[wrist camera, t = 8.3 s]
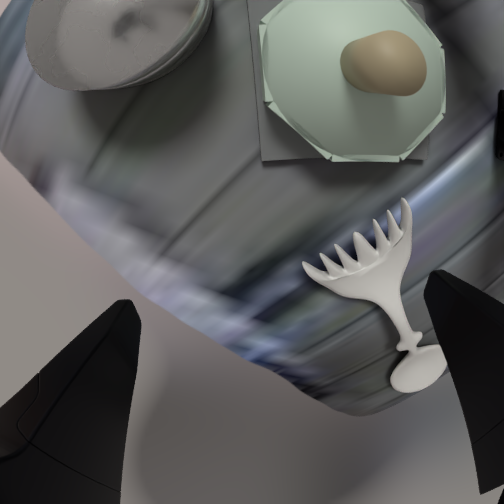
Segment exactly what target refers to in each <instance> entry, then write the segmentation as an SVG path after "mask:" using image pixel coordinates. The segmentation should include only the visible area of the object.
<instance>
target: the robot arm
mask: <svg viewBox="0 0 504 504" xmlns="http://www.w3.org/2000/svg"><path fill="white" fill-rule="evenodd" d="M496 157H497V158H498V159H500V160H504V90H500V92H499V121H498V134H497V145H496ZM424 300H425V303H426V305H427V308H428V311H429V314H430V317H431V320H432V323H433V327H434V330H435V333H436V336H437V339H438V341H439V344H440V347H441V349H442V352H443V354H444V357H445V359H446V362H447V365H448V368H449V370H450V373H451V376H452V378H453V382H454V385H455V388H456V390H457V394H458V397H459V400H460V403H461V407H462V410H463V414H464V417H465V421H466V425H467V429H468V433H469V437H470V441H471V444H472V445H471V446H472V450H473V456H474V460H475V466H476V472H477V478H478V485H479V492H480V494H484V493H486V492H488V491H491V490H493V489H495V488H497V487H499V486H501V485H503V484H504V304H503V303H501V302H499V301H498V300H496V299H494V298H493V297H491V296H489V295H488V294H486V293H484V292H482V291H481V290H479V289H477V288H475V287H474V286H472V285H470V284H468V283H467V282H465V281H463V280H461V279H459V278H457V277H456V276H454V275H452V274H450V273H448V272H446V271H445V270H442V269H440V270H434V271H432V272H431V273H430V274H429V277H428V280H427V283H426V286H425V289H424ZM140 335H141V320H140V317H139V315H138V313H137V310H136V308H135V306H134V304H133V302H132V301H131V300H129V299H124V300H117V301H116V302H115V303H114V304H113V305H111V306H110V307H109V308H108V309H107V310H106V311H105V312H103V313H102V314H101V315H100V316H99V317H98V318H97V319H95V320H94V321H93V322H92V323H91V324H90V325H89V326H88V327H87V328H85V329H84V330H83V331H82V332H81V333H80V334H79V335H78V336H77V337H75V338H74V339H73V340H72V341H71V342H70V343H69V344H68V345H67V346H66V347H65V348H63V349H62V350H61V351H60V352H59V353H58V354H57V355H56V356H55V357H54V358H53V359H52V360H51V361H50V362H49V363H48V364H47V365H46V366H44V367H43V368H42V369H41V370H40V372H39V373H37V374H36V375H35V376H34V377H33V378H32V379H31V380H30V381H29V382H28V383H27V384H26V385H25V386H24V387H23V388H22V389H21V390H20V391H19V392H17V393H16V394H15V395H14V396H13V397H12V398H11V399H9V400H8V401H7V402H6V403H5V404H4V405H3V406H2V407H0V504H120V497H121V492H120V491H121V481H122V470H123V460H124V451H125V443H126V434H127V428H128V421H129V414H130V408H131V402H132V396H133V390H134V385H135V380H136V373H137V366H138V354H139V345H140ZM498 504H504V489H503V491H502V494H501V496H500V499H499V502H498Z"/></svg>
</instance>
